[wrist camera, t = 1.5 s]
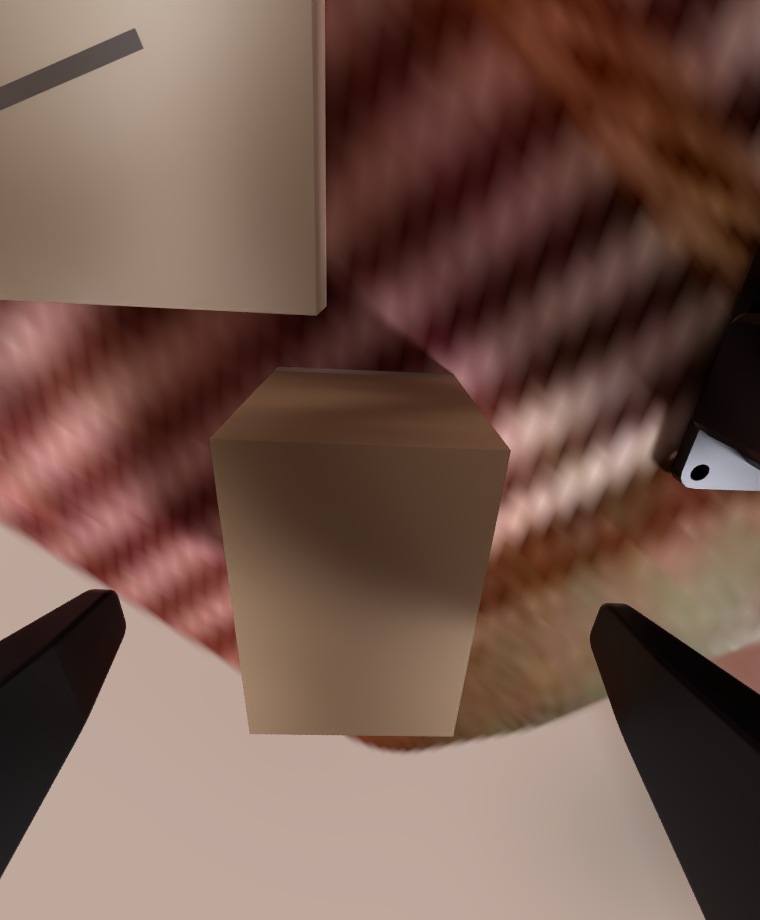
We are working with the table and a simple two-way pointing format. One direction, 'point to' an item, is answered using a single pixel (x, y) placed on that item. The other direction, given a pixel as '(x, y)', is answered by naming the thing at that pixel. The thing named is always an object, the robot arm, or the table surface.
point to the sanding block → (356, 547)
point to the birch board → (164, 154)
